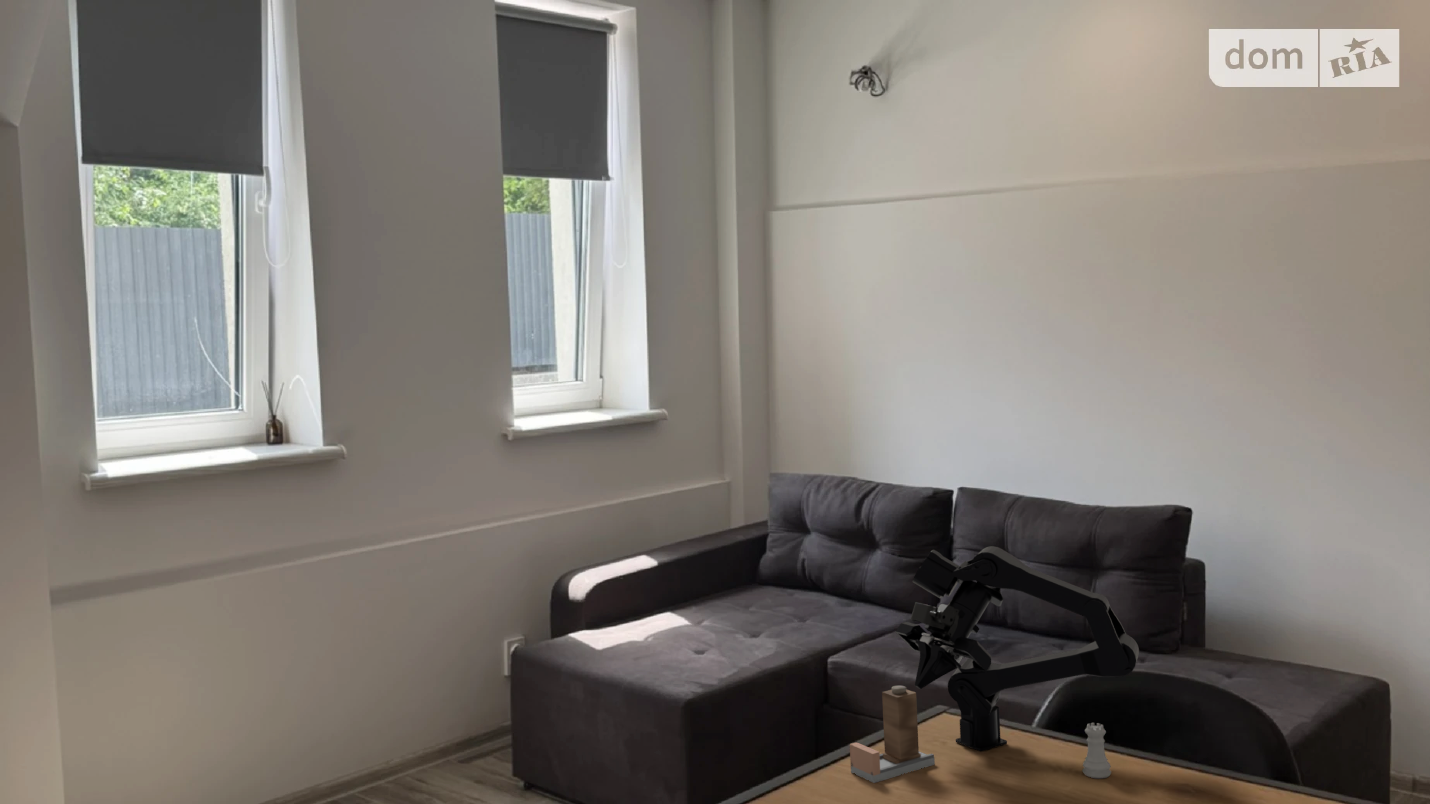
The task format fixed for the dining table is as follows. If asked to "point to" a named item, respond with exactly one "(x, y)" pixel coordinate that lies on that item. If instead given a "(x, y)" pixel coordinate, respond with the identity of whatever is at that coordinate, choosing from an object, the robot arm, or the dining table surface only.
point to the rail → (882, 764)
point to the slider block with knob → (900, 725)
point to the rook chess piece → (1096, 753)
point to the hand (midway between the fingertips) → (917, 687)
